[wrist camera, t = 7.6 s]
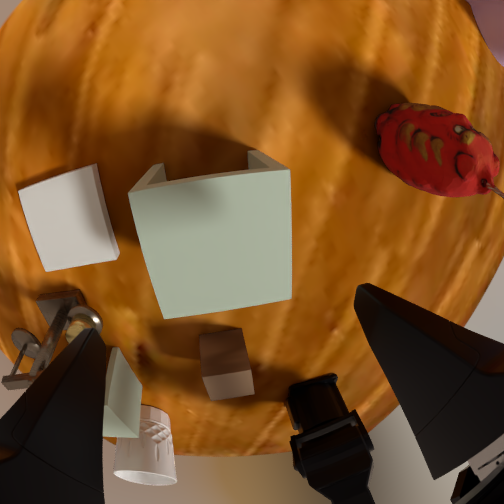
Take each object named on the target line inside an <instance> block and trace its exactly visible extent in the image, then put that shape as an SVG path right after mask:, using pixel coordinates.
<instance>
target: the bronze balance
mask: <svg viewBox="0 0 504 504" xmlns="http://www.w3.org/2000/svg"><path fill="white" fill-rule="evenodd" d="M36 303H37V305H38V307H39V309H40V310H41V312H42V314H43V316H44V317H45V319H46V321H47V323H48V324H49V326H50V327H49V330H48V332H47V334H46V336H45V338H44V340H43V342H42V345H41V343H40V342H39V340H38V339H37V338H36V337H35V336H34V335H33V334H32V333H30V332H29V331H27V330H25V329H23V328H16V329H15V330H14V331H13V333H12V341H13V343H14V345H15V346H16V347H17V348H18V349H19V350H20V354H19V356H18V358H17V360H16V362H15V365H14V367H13V369H12V372H11V374H10V375H9V376H3V378H2V382H1V383H2V384H3V385H4V386H5V387H6V388H7V389H8V390H14V389H24V388H29V386H30V385H31V384H32V383H33V382H34V381H35V380H36V379H37V377H38V376H39V375H40V374H41V373H42V372H43V371H44V370H45V369H46V368H47V367H48V365H49V363H50V360H51V358H52V355H53V353H54V350H55V348H56V345H57V343H58V340H59V338H60V336H61V333H62V331H63V330H67V332H66V339H67V341H68V342H69V343H70V342H71V341H72V340H73V339H74V338H75V337H76V336H77V335H78V334H79V333H80V332H81V331H82V330H83V329H85V328H96V329H97V331H98V333H99V334H100V333H101V331H102V327H103V320H102V318H101V316H100V315H99V314H98V312H97V311H95V310H94V309H93V308H91V307H89V306H87V304H86V302H85V300H84V298H83V296H82V294H81V292H80V289H79V290H72V291H64V292H57V293H49V294H42V295H39V297H38V298H37V300H36ZM24 354H25V355H26V356H28V357H31V358H35V361H34V363H33V366H32V368H31V371H30V373H23V374H16V371H17V369H18V367H19V365H20V362H21V360H22V358H23V355H24ZM15 374H16V375H15Z"/></svg>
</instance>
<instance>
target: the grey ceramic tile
mask: <svg viewBox="0 0 504 504" xmlns="http://www.w3.org/2000/svg"><path fill="white" fill-rule="evenodd" d="M18 193H19V196H20V200H21V204H22V207H23V211H24V214H25V217H26V220H27V223H28V226H29V229H30V232H31V235H32V238H33V241H34V243H35V246H36V249H37V251H38V254H39V256H40V259H41V261H42V264H43V266H44V268H45V271H46V272H48V271H54V270H59V269H65V268H70V267H76V266H82V265H88V264H93V263H99V262H105V261H111V260H117V258H118V256H119V254H120V252H119V249H118V246H117V243H116V239H115V236H114V233H113V229H112V226H111V222H110V218H109V215H108V211H107V207H106V203H105V199H104V195H103V191H102V186H101V182H100V177H99V172H98V167H97V163H95V164H92V165H88V166H85V167H82V168H78V169H75V170H72V171H69V172H66V173H62V174H59V175H57V176H54V177H51V178H48V179H45V180H42V181H40V182H37V183H34V184H32V185H29V186H27V187H24V188H22V189H21V190H19V191H18Z"/></svg>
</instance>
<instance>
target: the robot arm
mask: <svg viewBox="0 0 504 504" xmlns="http://www.w3.org/2000/svg"><path fill="white" fill-rule="evenodd" d="M354 309H355V312H356V314H357V317H358V319H359V321H360V324H361V326H362V328H363V331H364V333H365V336H366V338H367V341H368V343H369V345H370V347H371V349H372V351H373V353H374V355H375V356H376V358H377V360H378V362H379V364H380V366H381V368H382V370H383V372H384V373H385V375H386V377H387V379H388V381H389V383H390V385H391V387H392V389H393V391H394V393H395V395H396V397H397V399H398V401H399V403H400V405H401V407H402V410H403V412H404V414H405V416H406V418H407V420H408V422H409V424H410V426H411V429H412V431H413V433H414V435H415V437H416V440H417V442H418V445H419V447H420V449H421V451H422V454H423V456H424V458H425V461H426V463H427V465H428V468H429V470H430V473H431V475H432V477H433V479H434V480H435V479H437V478H439V477H441V476H443V475H445V474H446V473H448V472H450V471H451V470H453V469H455V468H457V467H458V466H460V465H461V464H463V463H465V462H466V461H468V463H469V465H468V466H467V467H466V468H465V469H463V470H462V471H461V472H459V475H458V478H457V481H456V484H455V488H454V491H453V494H452V496H451V499H450V500H451V502H452V504H504V344H503V343H500V342H498V341H495V340H493V339H490V338H488V337H485V336H483V335H480V334H478V333H475V332H473V331H470V330H468V329H466V328H464V327H462V326H460V325H457V324H455V323H453V322H451V321H450V322H449V320H447V319H445V318H443V317H441V316H439V315H437V314H434V313H432V312H430V311H428V310H426V309H424V308H422V307H420V306H418V305H415V304H413V303H411V302H409V301H407V300H405V299H403V298H400V297H398V296H396V295H394V294H392V293H390V292H387V291H385V290H383V289H381V288H379V287H377V286H374V285H372V284H370V283H365V284H361V285H358V287H357V289H356V294H355V300H354ZM337 378H338V377H337V375H336V374H333V375H330V376H326V377H323V378H319V379H316V380H312V381H308V382H304V383H301V384H297V385H293V386H291V387H290V388H289V397H287V399H286V408H287V411H288V414H289V417H290V420H291V423H292V427H293V429H294V430H298V431H299V434H298V435H293V436H291V441H289V442H290V445H291V449H292V453H293V466H294V469H295V470H296V471H299V473H300V474H301V475H302V477H303V478H307V480H308V483H309V485H310V486H311V487H312V488H314V489H315V490H316V491H318V492H319V493H321V494H322V495H324V496H325V497H326V498H328V499H329V500H331V502H332V504H375V502H374V500H373V497H372V495H371V493H370V490H369V484H370V480H371V475H372V471H373V459H372V456H371V454H370V452H371V451H373V450H374V447H373V444H372V441H371V439H370V437H369V435H368V433H367V431H366V429H365V427H364V425H363V423H362V421H361V419H360V417H359V415H358V414H357V412H356V410H355V409H354V410H352V411H351V412H350V413H349V411H348V409H347V407H346V405H345V402H344V400H343V398H342V396H341V394H340V392H339V390H338V388H337V386H336V382H337ZM105 391H106V346H105V343H104V341H103V340H102V338H101V336H100V334H99V333H98V331H97V329H96V328H85V329H83V330H82V331H81V332H80V333H79V334H78V335H77V336H76V337H75V338H74V339H73V340H72V341H71V342H70V343H69V344H68V345H67V347H66V348H65V349H64V350H63V351H62V352H61V353H60V354H59V355H58V356H57V357H56V358H55V359H54V360H53V361H52V362H51V363H50V364H49V365H48V367H47V368H46V369H45V370H44V371H43V372H42V373H41V374H40V375H39V376H38V377H37V379H36V380H35V381H34V382H33V383H32V384H31V385H30V386H29V388H28V389H27V390H26V392H24V393H23V395H22V396H21V397H20V398H19V399H18V400H17V402H16V403H15V404H14V405H13V406H12V407H11V408H10V409H9V410H8V411H7V412H6V414H5V415H3V417H2V418H1V419H0V504H105V500H104V493H103V492H104V490H103V464H102V444H103V418H104V403H105Z"/></svg>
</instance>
